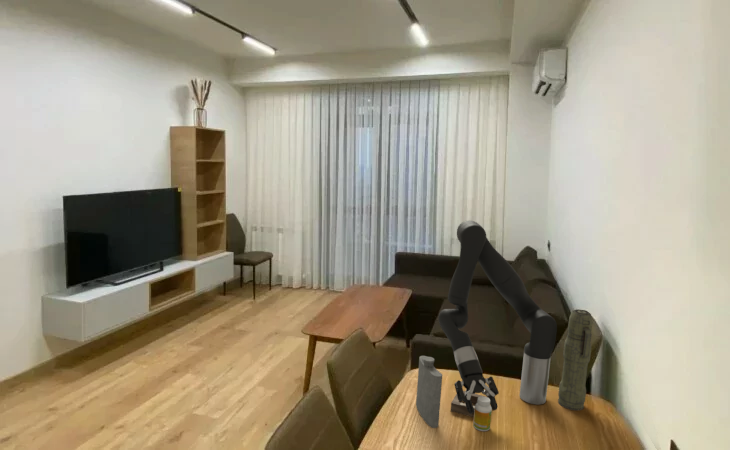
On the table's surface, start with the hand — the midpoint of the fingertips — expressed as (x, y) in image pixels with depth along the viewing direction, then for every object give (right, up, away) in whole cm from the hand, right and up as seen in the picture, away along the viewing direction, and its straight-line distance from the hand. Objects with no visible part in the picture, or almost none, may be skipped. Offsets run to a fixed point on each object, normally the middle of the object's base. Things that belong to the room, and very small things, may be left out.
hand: (483, 411), depth 150 cm
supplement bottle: (0, -6, +1) cm, 6 cm away
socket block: (-2, -4, +13) cm, 14 cm away
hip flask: (-18, -4, +7) cm, 20 cm away
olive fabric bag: (+37, -5, +19) cm, 42 cm away
